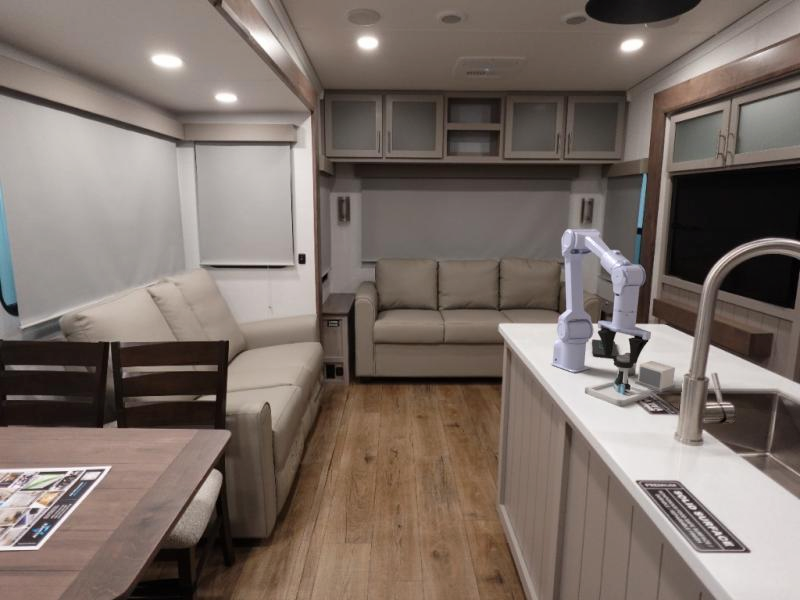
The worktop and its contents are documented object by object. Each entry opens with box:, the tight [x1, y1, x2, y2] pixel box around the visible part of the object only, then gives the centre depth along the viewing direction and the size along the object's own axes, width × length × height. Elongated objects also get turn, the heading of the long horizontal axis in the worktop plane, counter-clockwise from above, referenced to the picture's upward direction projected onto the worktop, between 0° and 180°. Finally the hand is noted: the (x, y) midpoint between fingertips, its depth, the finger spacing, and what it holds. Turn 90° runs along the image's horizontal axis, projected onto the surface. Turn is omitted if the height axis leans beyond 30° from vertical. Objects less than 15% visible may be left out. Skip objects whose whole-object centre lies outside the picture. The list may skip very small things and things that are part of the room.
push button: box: [612, 354, 633, 395], centre depth 135 cm, size 7×5×10 cm
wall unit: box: [634, 360, 676, 393], centre depth 142 cm, size 8×7×6 cm
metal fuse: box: [622, 352, 637, 378], centre depth 152 cm, size 4×4×7 cm
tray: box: [584, 379, 651, 407], centre depth 135 cm, size 11×13×2 cm
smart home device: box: [591, 339, 619, 360], centre depth 178 cm, size 8×2×20 cm
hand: (620, 359), depth 134 cm, fingers open, 7 cm apart
